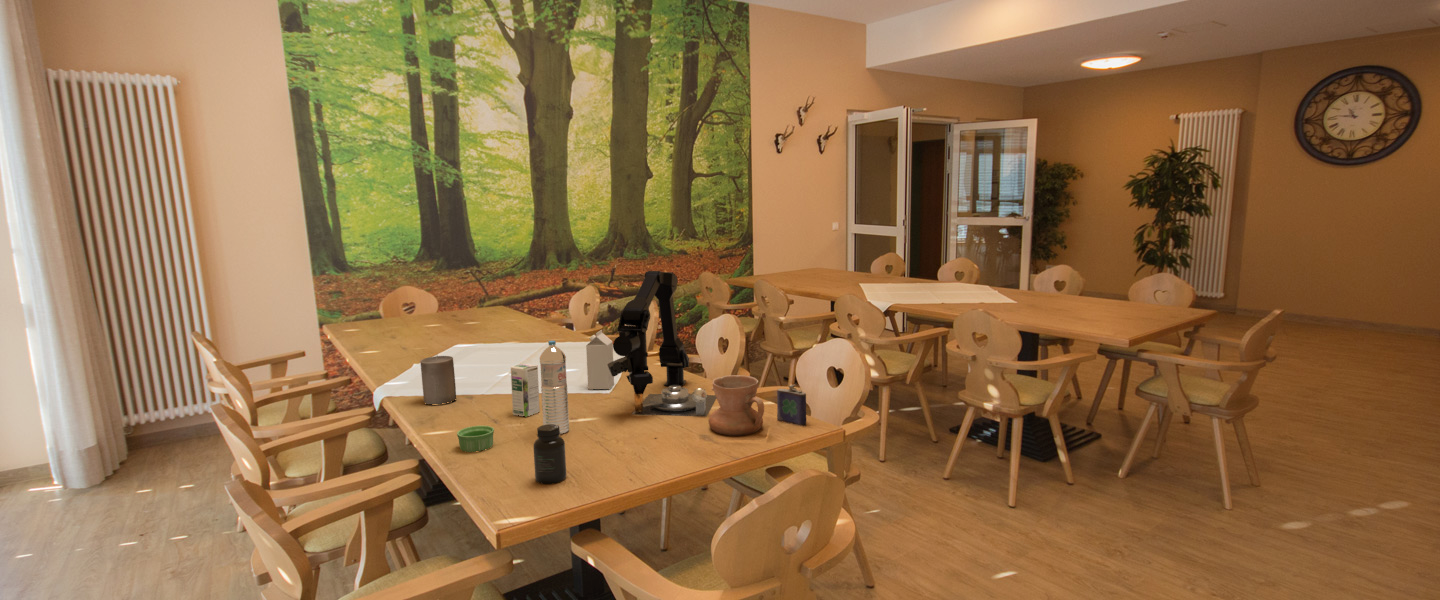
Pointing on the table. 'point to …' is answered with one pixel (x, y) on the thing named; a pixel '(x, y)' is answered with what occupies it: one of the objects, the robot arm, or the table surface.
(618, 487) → the table surface
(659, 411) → the base plate
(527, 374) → the syrup box
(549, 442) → the supplement bottle
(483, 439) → the ramekin
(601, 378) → the milk carton
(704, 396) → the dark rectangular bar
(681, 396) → the cover
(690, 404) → the turntable
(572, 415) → the table surface
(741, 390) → the ceramic jug
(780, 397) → the flask
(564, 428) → the water bottle
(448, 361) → the pillar candle
